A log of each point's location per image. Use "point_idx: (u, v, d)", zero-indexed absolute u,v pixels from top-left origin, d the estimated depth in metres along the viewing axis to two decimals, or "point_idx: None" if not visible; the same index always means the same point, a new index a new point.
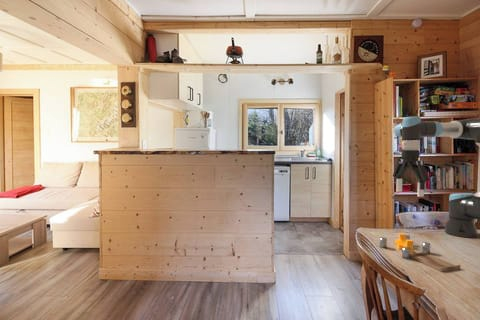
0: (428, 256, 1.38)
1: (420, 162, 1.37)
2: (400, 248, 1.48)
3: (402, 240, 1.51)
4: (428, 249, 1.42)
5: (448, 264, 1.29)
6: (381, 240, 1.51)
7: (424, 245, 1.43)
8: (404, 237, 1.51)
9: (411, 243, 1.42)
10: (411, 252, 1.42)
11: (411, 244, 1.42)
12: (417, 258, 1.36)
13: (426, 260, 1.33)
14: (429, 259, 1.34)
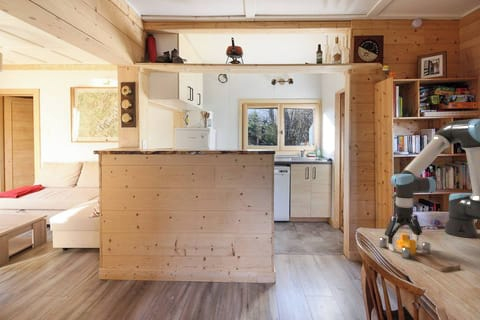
0: (428, 256, 1.38)
1: (391, 218, 1.46)
2: None
3: (404, 240, 1.51)
4: (428, 249, 1.42)
5: (448, 264, 1.29)
6: (381, 240, 1.51)
7: (424, 245, 1.43)
8: (406, 237, 1.51)
9: (414, 243, 1.42)
10: (414, 252, 1.42)
11: (414, 244, 1.42)
12: (417, 258, 1.36)
13: (426, 260, 1.33)
14: (429, 259, 1.34)
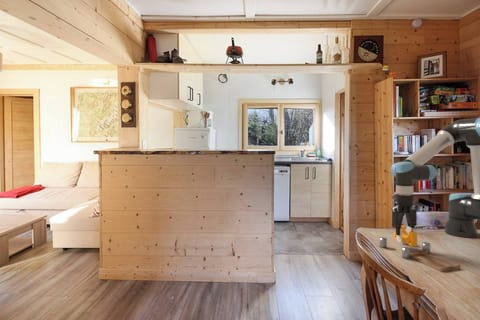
0: (428, 256, 1.38)
1: (392, 209, 1.46)
2: (402, 240, 1.47)
3: (402, 232, 1.50)
4: (428, 249, 1.42)
5: (448, 264, 1.29)
6: (381, 240, 1.51)
7: (424, 245, 1.43)
8: (403, 229, 1.51)
9: (415, 235, 1.41)
10: (415, 244, 1.41)
11: (415, 236, 1.41)
12: (417, 258, 1.36)
13: (426, 260, 1.33)
14: (429, 259, 1.34)
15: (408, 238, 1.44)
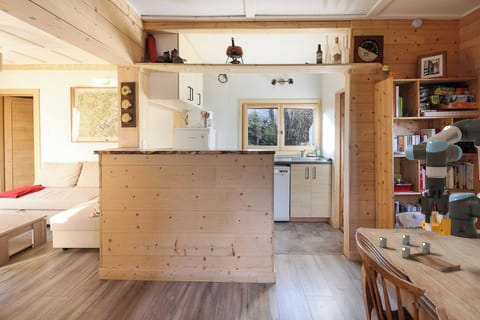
0: (428, 256, 1.38)
1: (421, 194, 1.29)
2: (432, 229, 1.30)
3: None
4: (428, 249, 1.42)
5: (448, 264, 1.29)
6: (381, 240, 1.51)
7: (424, 245, 1.43)
8: (433, 217, 1.34)
9: (448, 222, 1.24)
10: (448, 232, 1.24)
11: (448, 223, 1.24)
12: (417, 258, 1.36)
13: (426, 260, 1.33)
14: (429, 259, 1.34)
15: (440, 226, 1.27)
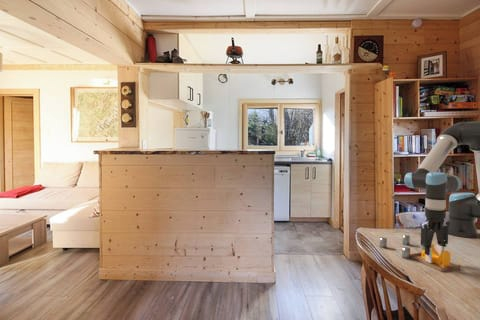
0: None
1: (421, 225, 1.30)
2: (432, 261, 1.31)
3: None
4: None
5: None
6: (381, 240, 1.51)
7: None
8: (432, 247, 1.35)
9: (448, 255, 1.25)
10: (448, 265, 1.25)
11: (448, 256, 1.25)
12: (417, 258, 1.36)
13: None
14: None
15: (439, 258, 1.27)
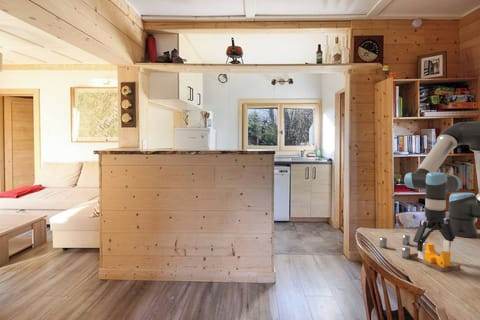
0: None
1: (421, 222, 1.30)
2: (432, 261, 1.31)
3: (431, 251, 1.34)
4: None
5: None
6: (381, 240, 1.51)
7: None
8: (432, 247, 1.35)
9: (448, 255, 1.25)
10: (448, 265, 1.25)
11: (448, 256, 1.25)
12: (417, 258, 1.36)
13: (426, 260, 1.33)
14: None
15: (439, 259, 1.28)
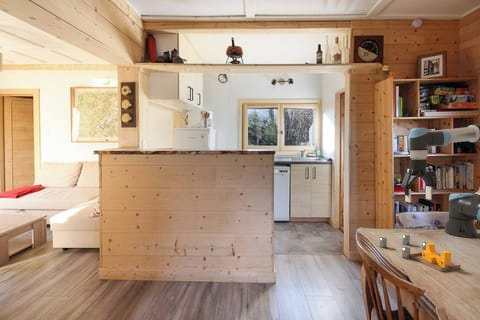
0: None
1: (406, 170, 1.51)
2: (432, 261, 1.31)
3: (432, 251, 1.34)
4: None
5: None
6: (381, 240, 1.51)
7: (424, 245, 1.43)
8: (433, 247, 1.35)
9: (449, 255, 1.25)
10: (448, 265, 1.25)
11: (449, 256, 1.25)
12: (417, 258, 1.36)
13: (426, 260, 1.33)
14: None
15: (440, 258, 1.28)
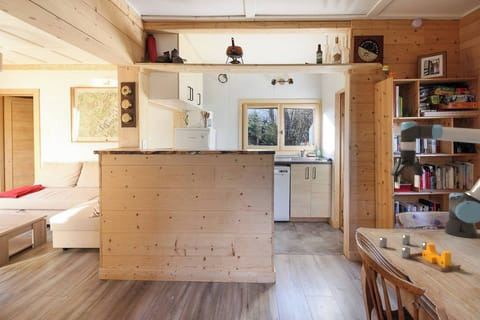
0: None
1: (396, 160, 1.68)
2: (433, 261, 1.31)
3: (432, 251, 1.34)
4: None
5: None
6: (381, 240, 1.51)
7: (424, 245, 1.43)
8: (433, 247, 1.35)
9: (449, 255, 1.25)
10: (449, 265, 1.25)
11: (449, 256, 1.25)
12: (417, 258, 1.36)
13: (426, 260, 1.33)
14: None
15: (440, 258, 1.28)
